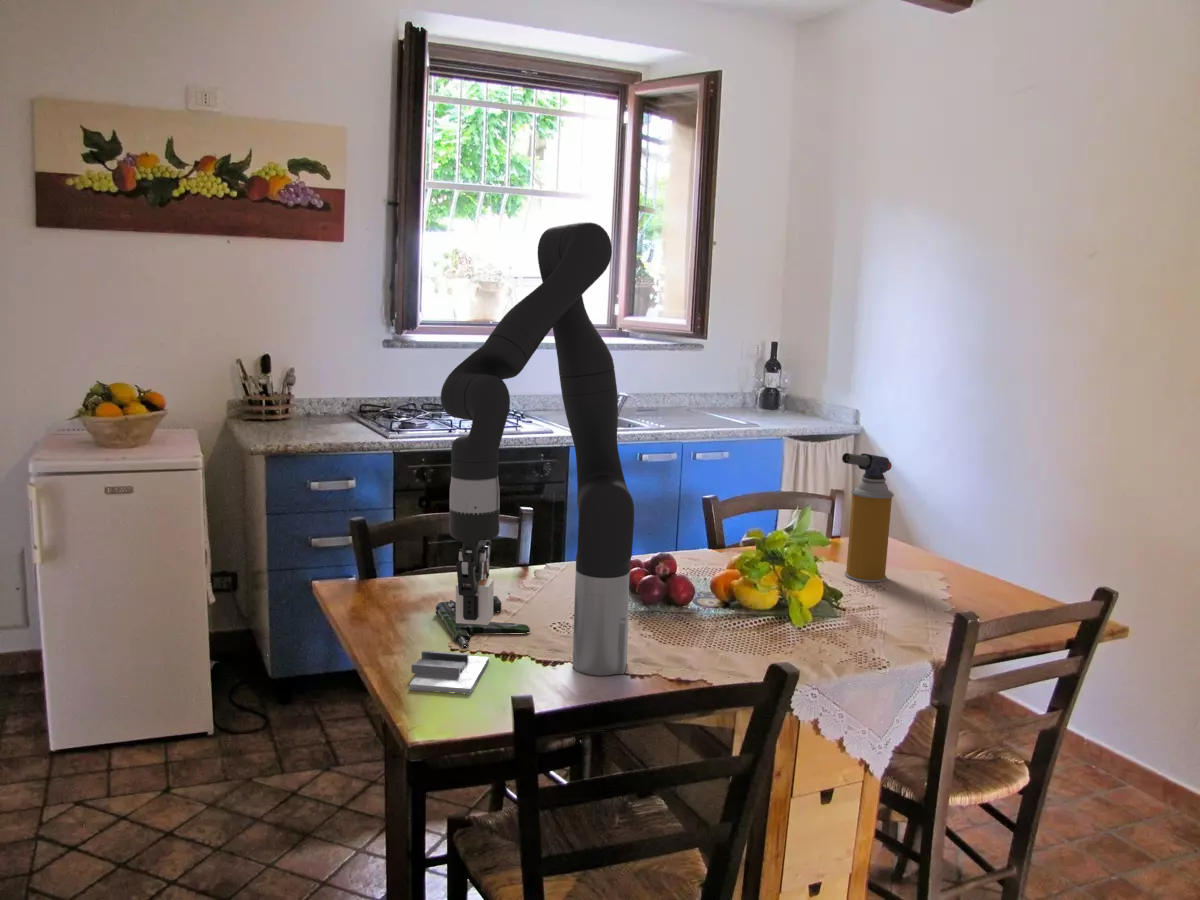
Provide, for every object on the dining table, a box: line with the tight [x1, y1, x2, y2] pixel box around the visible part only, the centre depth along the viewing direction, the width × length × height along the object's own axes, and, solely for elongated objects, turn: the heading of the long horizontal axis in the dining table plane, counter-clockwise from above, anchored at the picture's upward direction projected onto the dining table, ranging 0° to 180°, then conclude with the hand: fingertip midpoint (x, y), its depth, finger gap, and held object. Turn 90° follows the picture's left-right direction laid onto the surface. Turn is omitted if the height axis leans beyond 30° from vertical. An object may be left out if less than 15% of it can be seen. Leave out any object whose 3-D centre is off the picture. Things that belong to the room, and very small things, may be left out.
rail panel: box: [409, 649, 490, 695], centre depth 173 cm, size 11×14×2 cm
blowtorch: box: [841, 452, 895, 584], centre depth 235 cm, size 9×16×30 cm, turn 129°
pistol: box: [434, 595, 531, 648], centre depth 198 cm, size 3×22×15 cm
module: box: [455, 578, 494, 625], centre depth 158 cm, size 5×4×6 cm
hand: (474, 613), depth 159 cm, fingers closed on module, 4 cm apart
